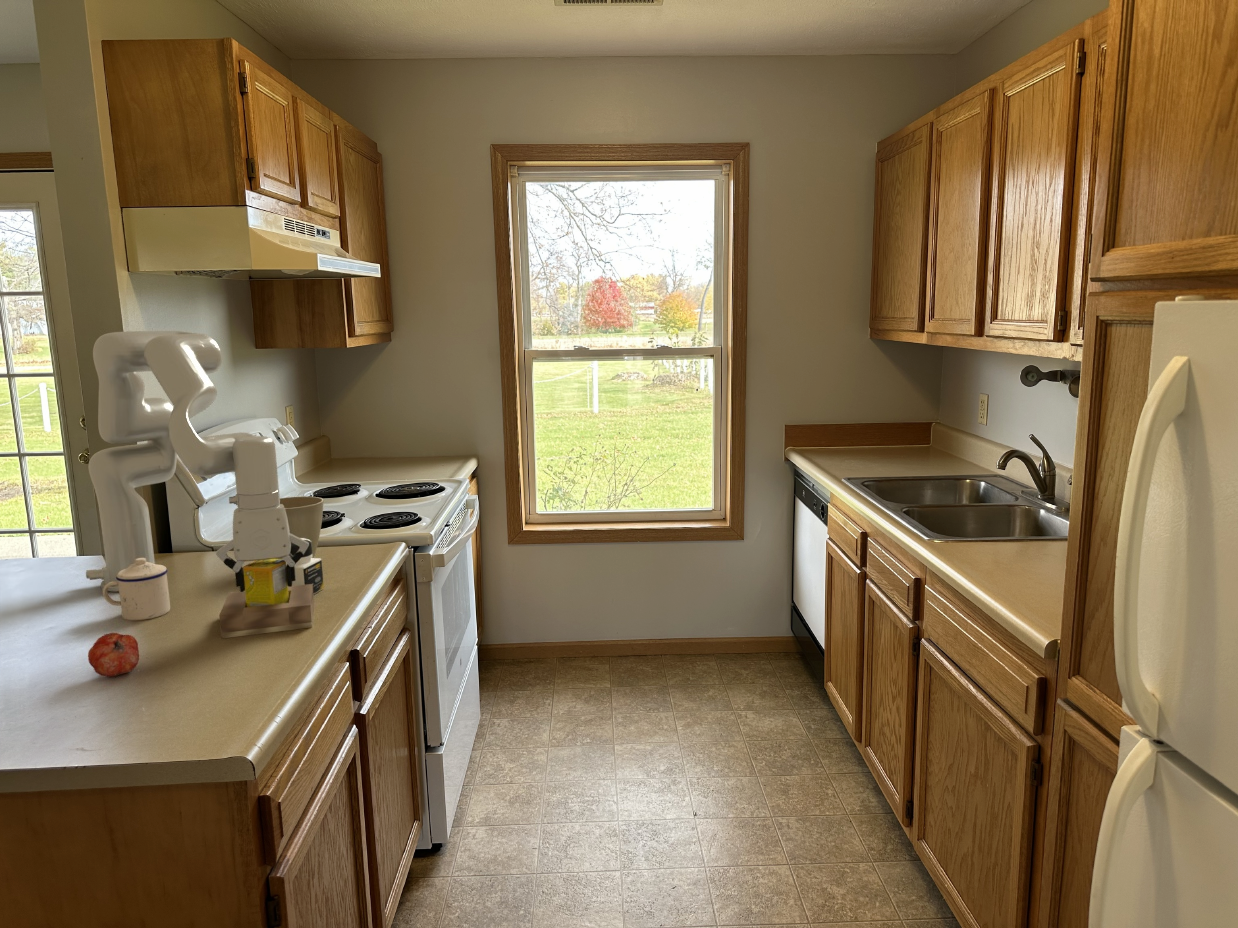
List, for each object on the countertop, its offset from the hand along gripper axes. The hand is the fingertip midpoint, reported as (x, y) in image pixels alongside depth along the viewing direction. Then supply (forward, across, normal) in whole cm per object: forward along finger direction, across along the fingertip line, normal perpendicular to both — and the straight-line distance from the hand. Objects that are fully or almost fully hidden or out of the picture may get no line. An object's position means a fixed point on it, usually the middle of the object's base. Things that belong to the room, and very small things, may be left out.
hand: (266, 586), depth 164 cm
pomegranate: (+7, -23, -18) cm, 30 cm away
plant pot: (+7, +3, +39) cm, 40 cm away
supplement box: (+6, 0, 0) cm, 6 cm away
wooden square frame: (+7, 0, 0) cm, 7 cm away
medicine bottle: (+7, +5, +16) cm, 18 cm away
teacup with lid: (+7, -26, +14) cm, 30 cm away
